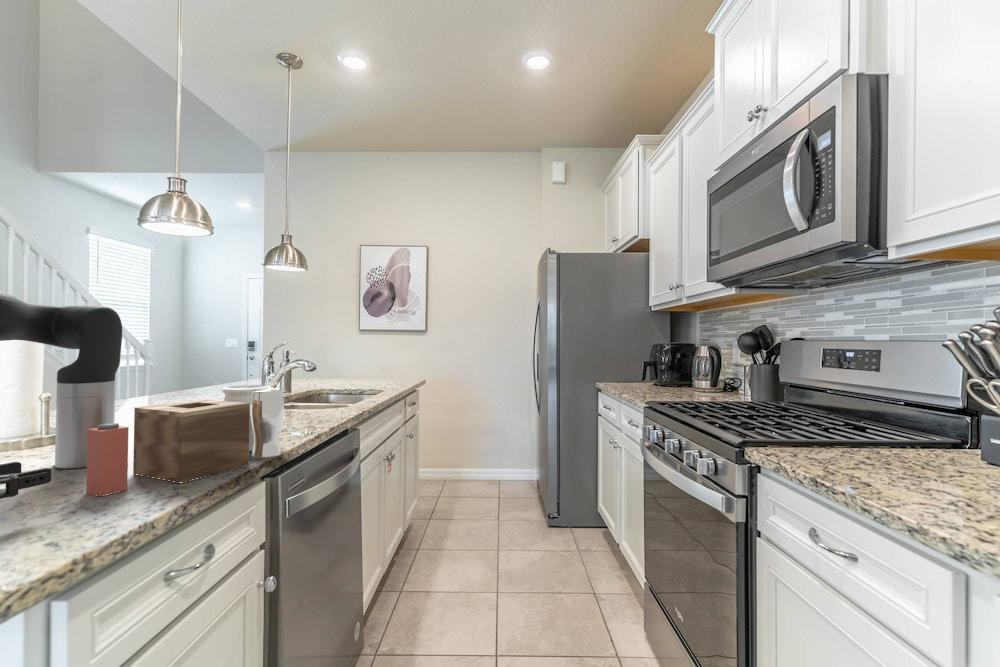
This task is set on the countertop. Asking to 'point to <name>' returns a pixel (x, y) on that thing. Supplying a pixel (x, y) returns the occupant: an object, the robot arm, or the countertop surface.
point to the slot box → (190, 439)
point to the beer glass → (266, 422)
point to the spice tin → (107, 459)
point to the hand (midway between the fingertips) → (34, 471)
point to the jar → (242, 400)
